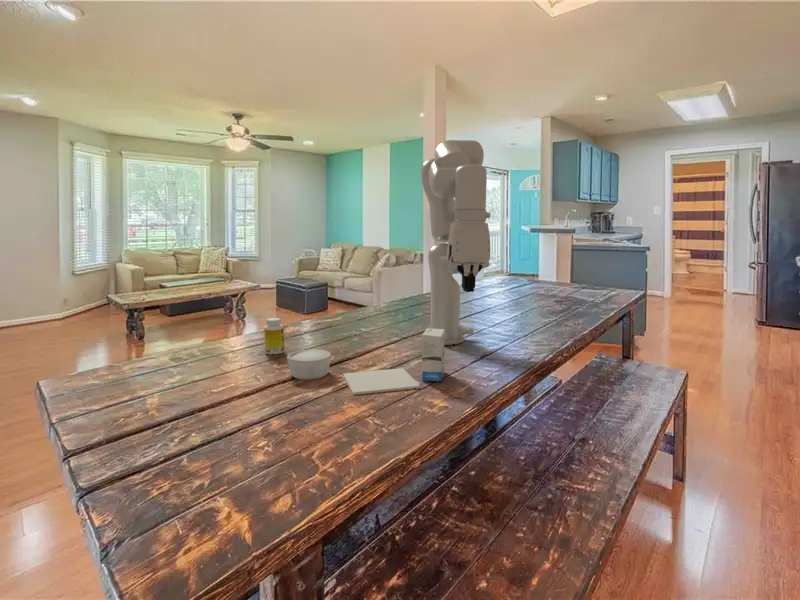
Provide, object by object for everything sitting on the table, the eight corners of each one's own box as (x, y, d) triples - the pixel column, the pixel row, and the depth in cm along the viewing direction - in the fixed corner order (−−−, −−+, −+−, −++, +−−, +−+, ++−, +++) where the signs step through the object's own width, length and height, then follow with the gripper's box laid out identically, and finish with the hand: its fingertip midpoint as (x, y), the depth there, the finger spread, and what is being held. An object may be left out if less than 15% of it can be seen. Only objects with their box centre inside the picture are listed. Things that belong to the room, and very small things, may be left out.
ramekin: (293, 367, 131) (293, 348, 130) (334, 367, 131) (334, 348, 130) (282, 381, 120) (281, 360, 119) (327, 381, 120) (326, 361, 119)
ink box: (441, 383, 119) (441, 336, 117) (421, 381, 120) (421, 335, 118) (445, 372, 127) (445, 328, 125) (426, 370, 128) (426, 327, 126)
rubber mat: (403, 370, 128) (403, 368, 128) (419, 388, 115) (419, 385, 115) (343, 375, 124) (343, 373, 124) (353, 394, 111) (353, 392, 111)
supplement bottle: (285, 354, 143) (284, 320, 142) (266, 355, 142) (264, 321, 140) (283, 349, 149) (281, 316, 147) (264, 351, 147) (262, 317, 145)
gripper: (490, 217, 125) (488, 288, 127) (436, 217, 120) (435, 290, 123) (504, 217, 117) (502, 292, 120) (447, 217, 113) (446, 294, 116)
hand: (468, 291), depth 122 cm, fingers closed
